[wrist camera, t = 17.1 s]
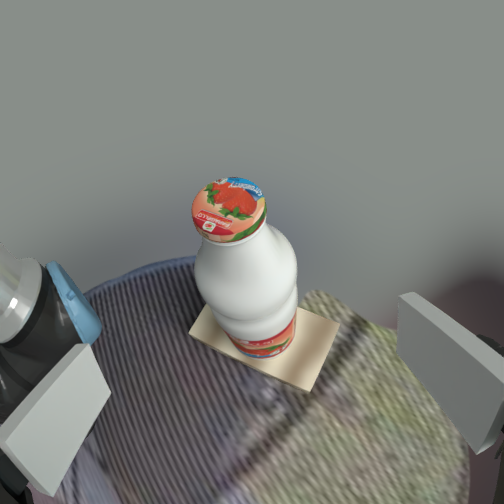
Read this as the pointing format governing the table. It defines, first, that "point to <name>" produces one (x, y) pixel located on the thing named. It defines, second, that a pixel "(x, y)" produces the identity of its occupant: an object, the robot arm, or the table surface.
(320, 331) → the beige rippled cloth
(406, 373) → the table surface
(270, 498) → the table surface
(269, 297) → the fruit juice
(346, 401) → the table surface
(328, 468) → the table surface
